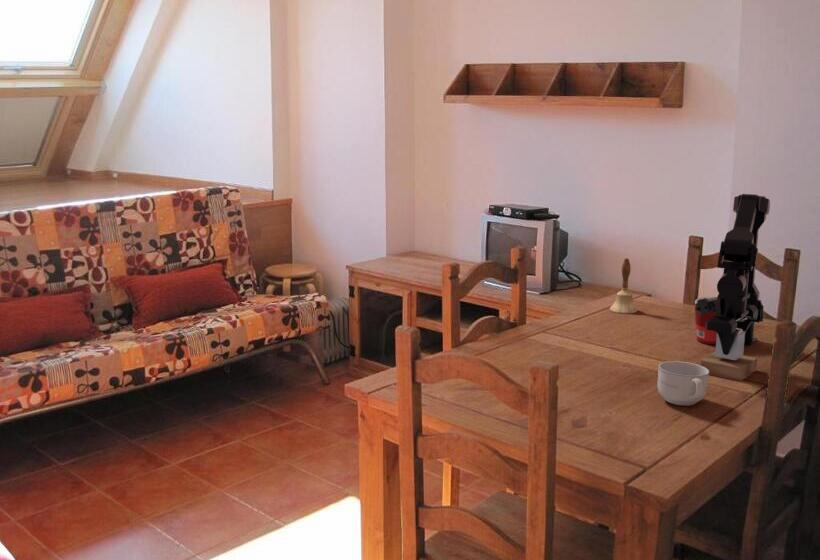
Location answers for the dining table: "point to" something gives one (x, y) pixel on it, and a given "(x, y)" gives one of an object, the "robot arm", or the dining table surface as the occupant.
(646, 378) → the dining table surface
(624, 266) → the hand bell
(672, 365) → the teacup
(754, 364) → the wooden block
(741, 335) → the white cube
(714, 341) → the canned food
